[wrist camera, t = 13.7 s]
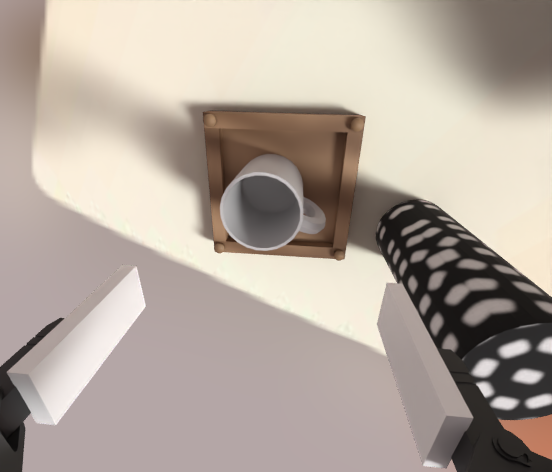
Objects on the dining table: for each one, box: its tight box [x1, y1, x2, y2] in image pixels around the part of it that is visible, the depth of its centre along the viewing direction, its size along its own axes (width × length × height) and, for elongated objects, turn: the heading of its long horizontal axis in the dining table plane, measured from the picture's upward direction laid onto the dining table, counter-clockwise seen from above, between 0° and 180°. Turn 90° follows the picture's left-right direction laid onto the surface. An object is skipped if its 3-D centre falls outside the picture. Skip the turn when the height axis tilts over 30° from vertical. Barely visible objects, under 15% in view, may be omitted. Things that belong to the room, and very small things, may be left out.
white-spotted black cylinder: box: [376, 200, 552, 420], centre depth 26 cm, size 8×8×20 cm
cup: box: [220, 154, 326, 251], centre depth 28 cm, size 7×10×9 cm
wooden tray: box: [203, 111, 366, 260], centre depth 32 cm, size 16×16×3 cm
